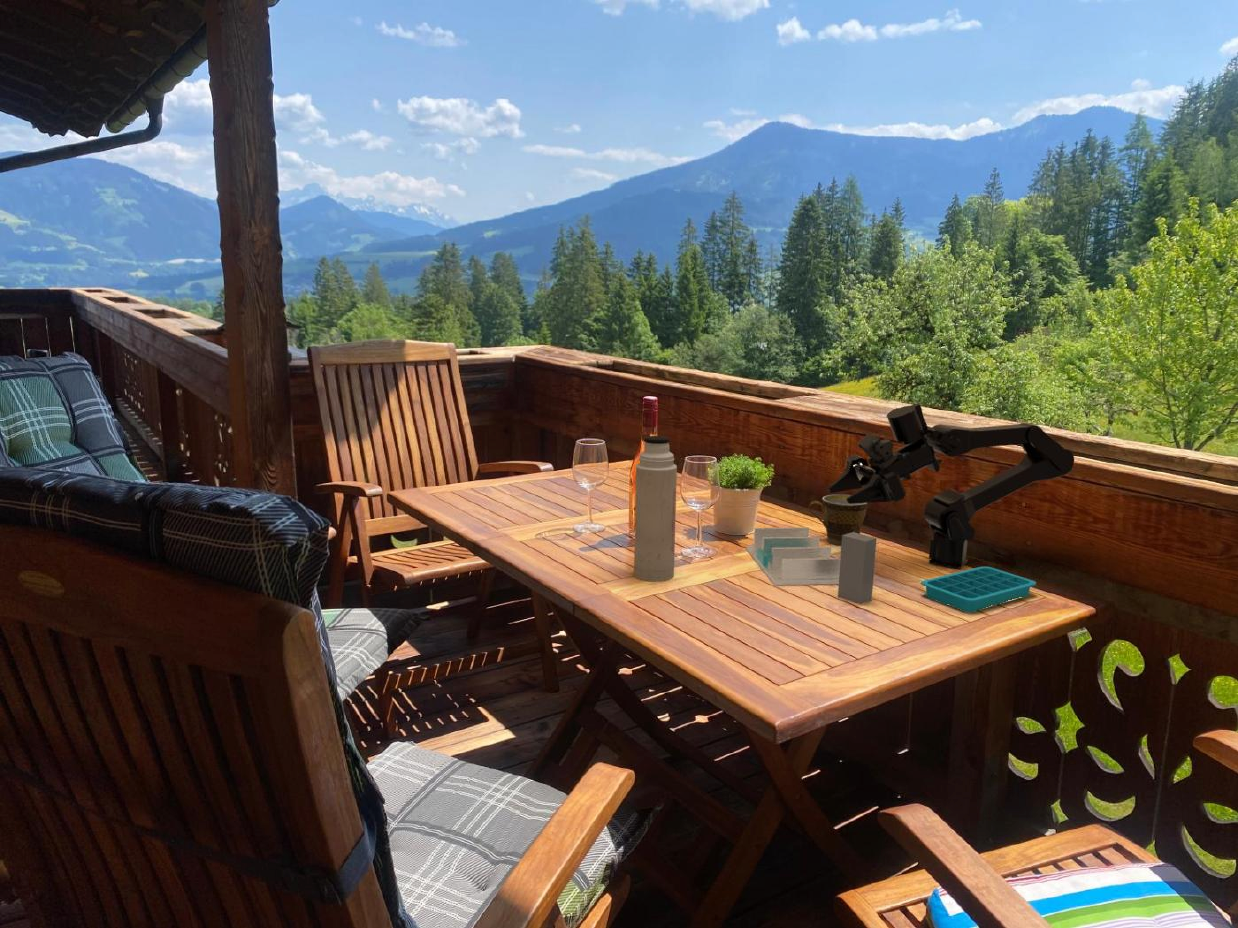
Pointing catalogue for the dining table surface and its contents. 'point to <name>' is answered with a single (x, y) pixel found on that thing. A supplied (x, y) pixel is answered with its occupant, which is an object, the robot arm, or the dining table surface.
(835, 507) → the ceramic cup
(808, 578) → the tray
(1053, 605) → the dining table surface
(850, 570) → the tall gray rectangular box
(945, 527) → the robot arm
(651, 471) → the thermos bottle
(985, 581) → the ice cube tray
